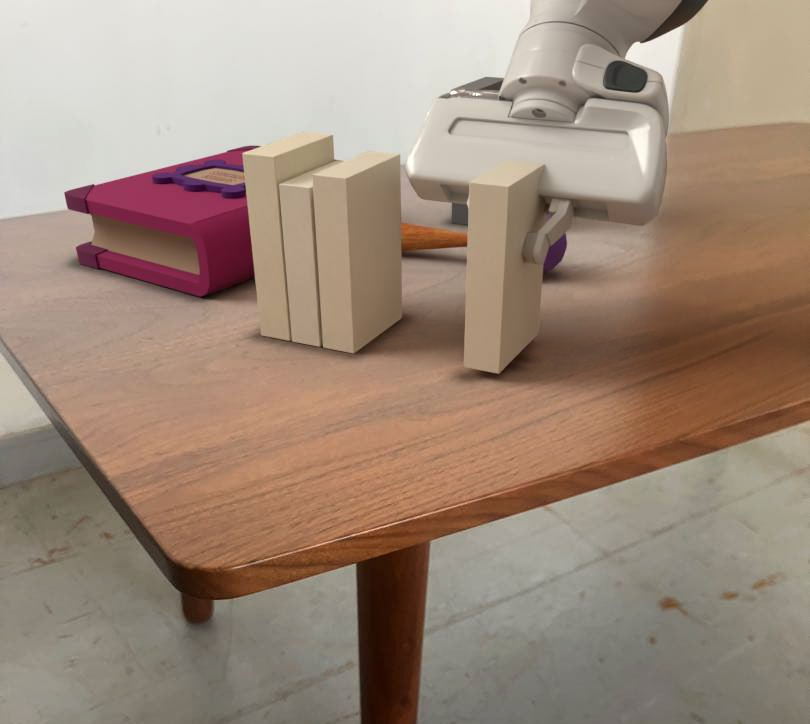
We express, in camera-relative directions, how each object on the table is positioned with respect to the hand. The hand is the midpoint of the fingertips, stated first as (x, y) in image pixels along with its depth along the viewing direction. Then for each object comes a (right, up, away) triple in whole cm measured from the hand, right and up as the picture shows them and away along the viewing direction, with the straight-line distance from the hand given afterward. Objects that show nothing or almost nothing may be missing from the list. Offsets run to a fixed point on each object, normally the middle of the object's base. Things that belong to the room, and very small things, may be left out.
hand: (504, 256), depth 70 cm
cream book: (0, -6, +5) cm, 8 cm away
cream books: (-14, -3, +11) cm, 18 cm away
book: (-26, +11, +31) cm, 42 cm away
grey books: (+4, +17, +39) cm, 43 cm away
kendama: (-1, +7, +26) cm, 26 cm away
